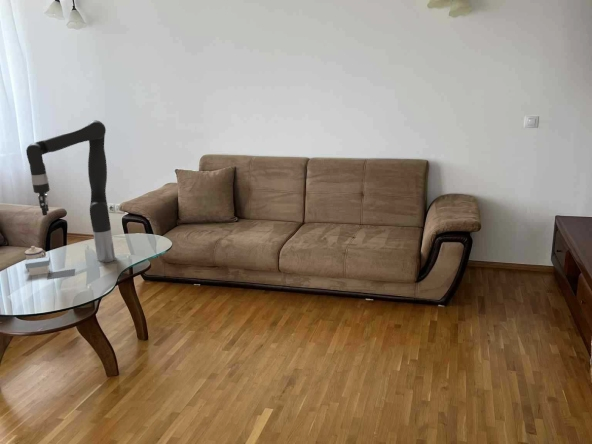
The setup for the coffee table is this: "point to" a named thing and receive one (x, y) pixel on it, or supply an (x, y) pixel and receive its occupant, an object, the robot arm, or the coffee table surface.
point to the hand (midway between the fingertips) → (45, 213)
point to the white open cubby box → (39, 270)
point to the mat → (61, 274)
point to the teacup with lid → (34, 253)
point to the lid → (37, 262)
